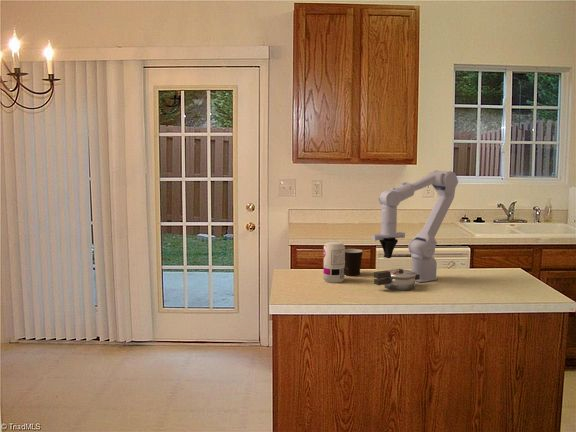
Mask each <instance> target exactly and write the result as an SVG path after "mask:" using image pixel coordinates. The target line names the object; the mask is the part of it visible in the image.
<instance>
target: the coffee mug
mask: <svg viewBox="0 0 576 432" xmlns="http://www.w3.org/2000/svg"><path fill="white" fill-rule="evenodd" d="M363 252H364V251H363V250H362V249H359V248H358V249H357V248H345V274H344V276H345V275H346V276H345V277H359V276H360V274H361V267H362V259H363Z"/></svg>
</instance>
